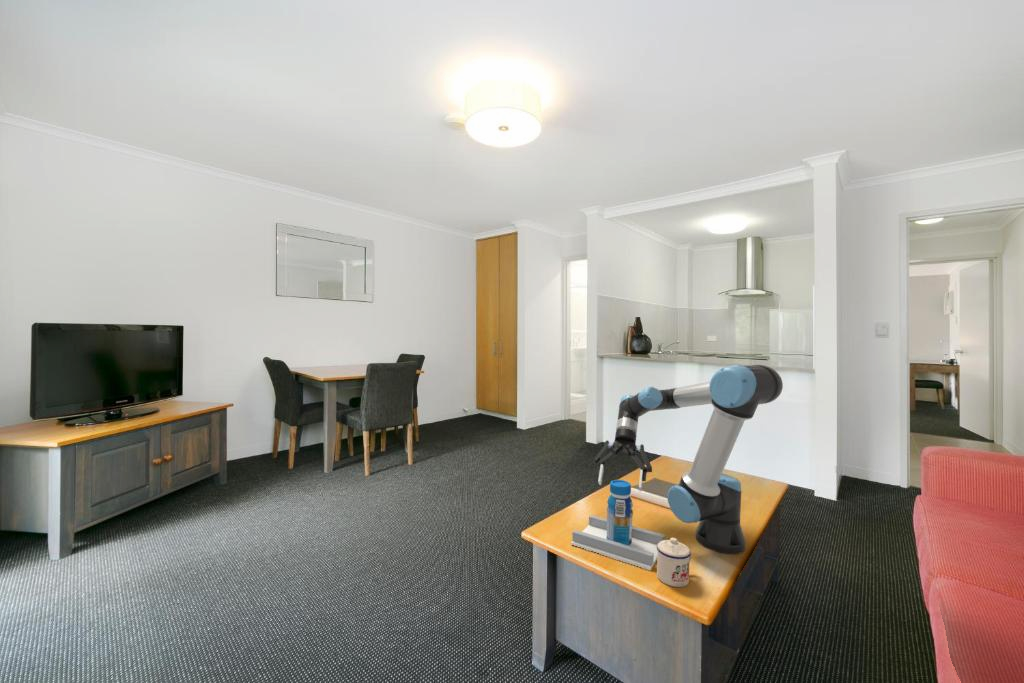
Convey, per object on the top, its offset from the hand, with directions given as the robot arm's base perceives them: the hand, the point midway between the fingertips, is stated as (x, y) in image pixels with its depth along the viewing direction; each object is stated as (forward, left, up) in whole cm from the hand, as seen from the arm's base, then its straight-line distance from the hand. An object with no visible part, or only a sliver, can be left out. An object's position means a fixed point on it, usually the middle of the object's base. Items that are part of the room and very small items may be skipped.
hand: (619, 486), depth 143 cm
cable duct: (-2, +5, -18) cm, 19 cm away
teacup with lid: (-22, +13, -18) cm, 31 cm away
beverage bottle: (-2, +5, -17) cm, 18 cm away
